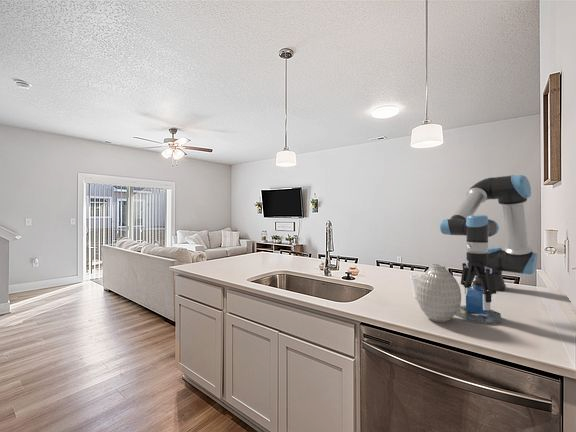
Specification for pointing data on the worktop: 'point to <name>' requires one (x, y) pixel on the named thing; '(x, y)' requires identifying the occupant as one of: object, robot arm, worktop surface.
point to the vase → (438, 294)
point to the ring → (491, 316)
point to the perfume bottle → (475, 298)
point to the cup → (414, 283)
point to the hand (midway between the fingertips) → (477, 306)
